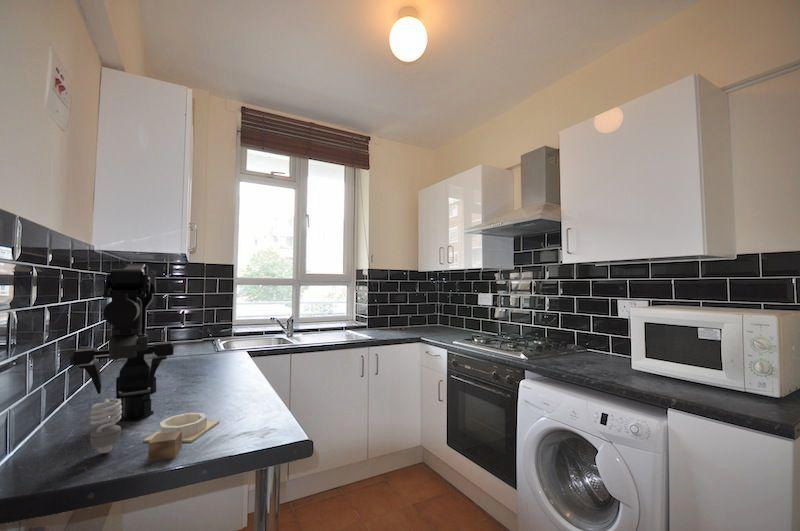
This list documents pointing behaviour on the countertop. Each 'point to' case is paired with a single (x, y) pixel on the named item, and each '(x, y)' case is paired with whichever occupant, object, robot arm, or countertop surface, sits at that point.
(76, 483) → the countertop surface
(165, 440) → the walnut block
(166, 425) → the socket
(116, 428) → the light bulb
